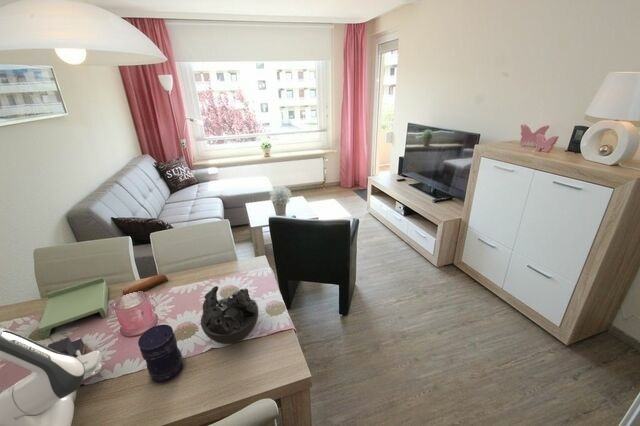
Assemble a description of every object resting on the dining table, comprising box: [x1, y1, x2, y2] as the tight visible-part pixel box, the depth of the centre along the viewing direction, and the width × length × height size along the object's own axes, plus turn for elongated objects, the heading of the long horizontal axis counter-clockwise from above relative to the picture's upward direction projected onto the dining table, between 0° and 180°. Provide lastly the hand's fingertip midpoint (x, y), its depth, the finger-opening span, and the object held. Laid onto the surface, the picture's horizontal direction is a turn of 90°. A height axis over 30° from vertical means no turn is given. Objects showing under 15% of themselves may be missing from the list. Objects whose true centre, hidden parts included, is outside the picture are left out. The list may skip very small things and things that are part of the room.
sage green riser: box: [38, 276, 109, 340], centre depth 122 cm, size 20×22×7 cm
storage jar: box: [137, 324, 185, 385], centre depth 93 cm, size 10×10×15 cm
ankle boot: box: [47, 337, 86, 356], centre depth 97 cm, size 5×15×12 cm, turn 33°
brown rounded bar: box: [122, 274, 169, 296], centre depth 136 cm, size 18×7×7 cm
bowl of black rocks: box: [200, 285, 259, 345], centre depth 105 cm, size 20×20×19 cm
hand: (64, 357), depth 94 cm, fingers closed on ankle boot, 5 cm apart
